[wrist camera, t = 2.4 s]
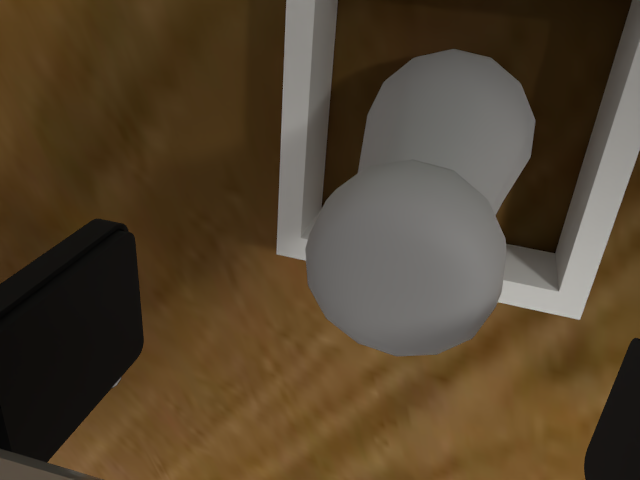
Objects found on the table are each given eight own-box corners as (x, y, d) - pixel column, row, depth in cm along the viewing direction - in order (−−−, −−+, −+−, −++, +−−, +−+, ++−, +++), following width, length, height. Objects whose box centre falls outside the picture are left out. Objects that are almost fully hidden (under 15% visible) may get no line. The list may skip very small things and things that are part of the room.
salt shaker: (481, 209, 24) (447, 445, 13) (357, 145, 25) (226, 324, 14) (565, 81, 21) (612, 251, 10) (423, 9, 22) (321, 100, 11)
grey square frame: (679, -40, 19) (704, -35, 16) (573, 278, 25) (579, 319, 22) (316, -72, 21) (289, -72, 19) (299, 223, 27) (276, 254, 25)
